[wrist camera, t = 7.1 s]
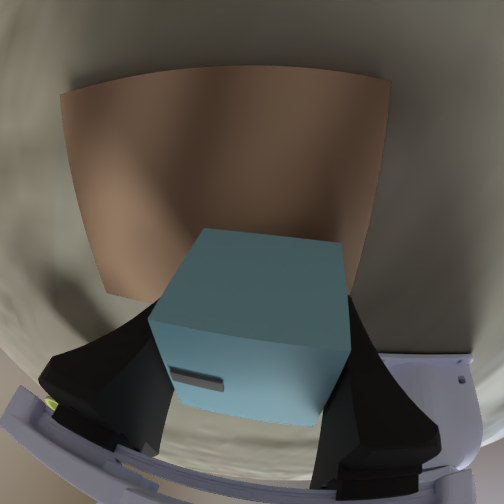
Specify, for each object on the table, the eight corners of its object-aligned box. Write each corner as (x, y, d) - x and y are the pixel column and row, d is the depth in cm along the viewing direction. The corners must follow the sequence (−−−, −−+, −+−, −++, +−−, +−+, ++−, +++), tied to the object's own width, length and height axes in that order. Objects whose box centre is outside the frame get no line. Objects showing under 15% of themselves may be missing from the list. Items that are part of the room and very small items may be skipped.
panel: (383, 80, 9) (391, 81, 8) (337, 316, 16) (338, 331, 15) (74, 91, 11) (59, 94, 10) (115, 281, 19) (106, 292, 18)
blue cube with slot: (341, 243, 11) (351, 354, 6) (319, 334, 14) (312, 430, 10) (203, 228, 11) (145, 322, 7) (213, 320, 14) (180, 407, 10)
